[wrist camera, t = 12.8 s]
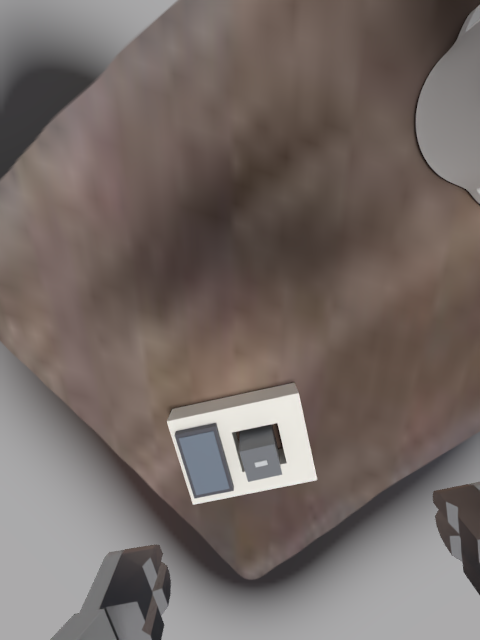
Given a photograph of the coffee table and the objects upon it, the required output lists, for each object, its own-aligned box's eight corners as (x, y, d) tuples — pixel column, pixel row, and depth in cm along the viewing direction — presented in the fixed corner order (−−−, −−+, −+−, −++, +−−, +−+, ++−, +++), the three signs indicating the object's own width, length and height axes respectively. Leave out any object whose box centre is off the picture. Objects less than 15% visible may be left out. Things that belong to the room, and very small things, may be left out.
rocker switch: (269, 416, 40) (274, 444, 34) (276, 442, 41) (282, 475, 35) (239, 422, 41) (239, 452, 35) (247, 449, 41) (248, 482, 35)
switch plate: (294, 382, 39) (300, 396, 35) (311, 464, 42) (318, 485, 38) (172, 408, 40) (164, 425, 36) (196, 487, 43) (192, 510, 39)
